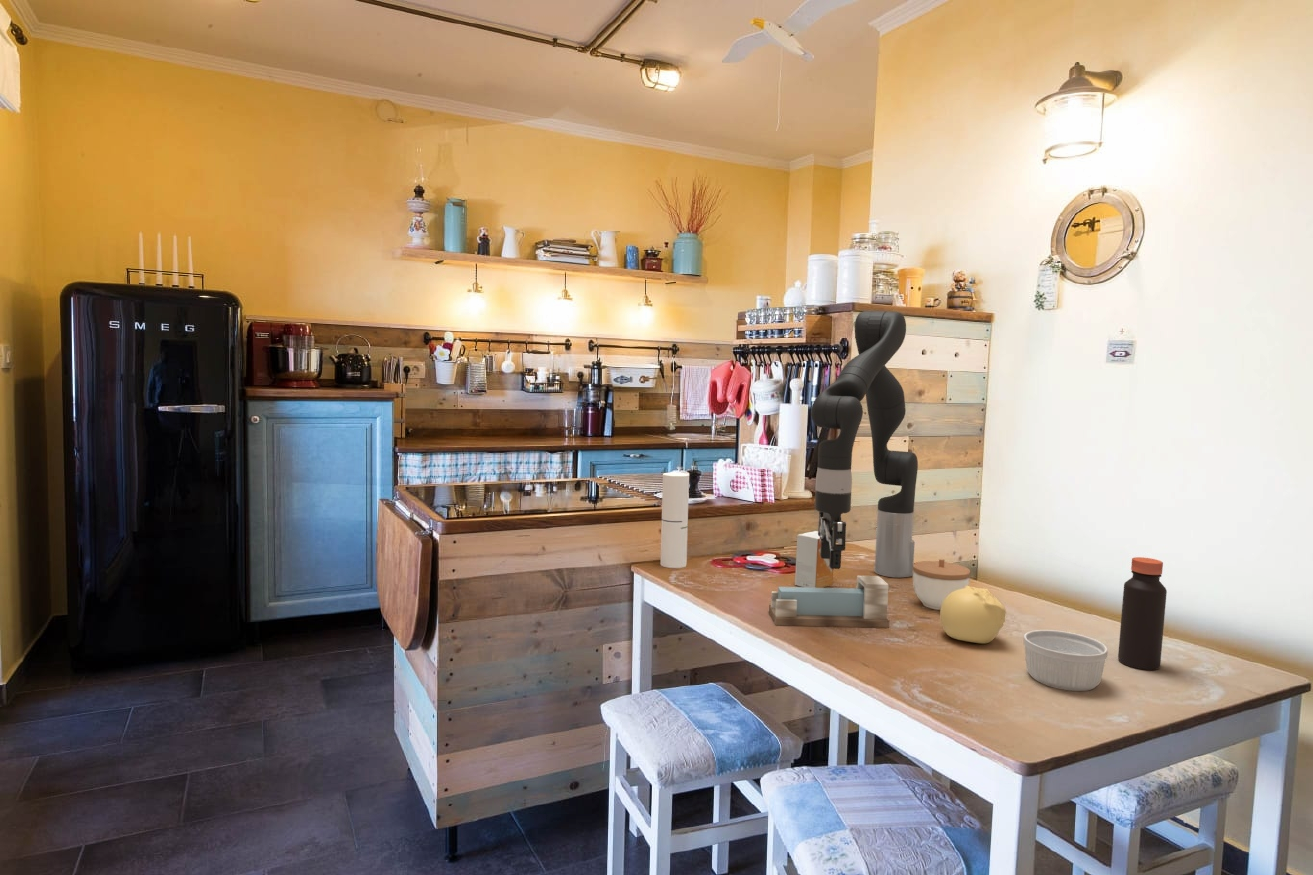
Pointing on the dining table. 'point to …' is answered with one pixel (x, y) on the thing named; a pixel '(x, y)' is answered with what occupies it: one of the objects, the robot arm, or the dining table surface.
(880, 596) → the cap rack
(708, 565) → the dining table surface
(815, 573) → the small box
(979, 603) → the yellow clay lump
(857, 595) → the slat
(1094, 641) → the ramekin
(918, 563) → the lidded bowl
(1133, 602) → the bottle
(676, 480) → the cylindrical container
